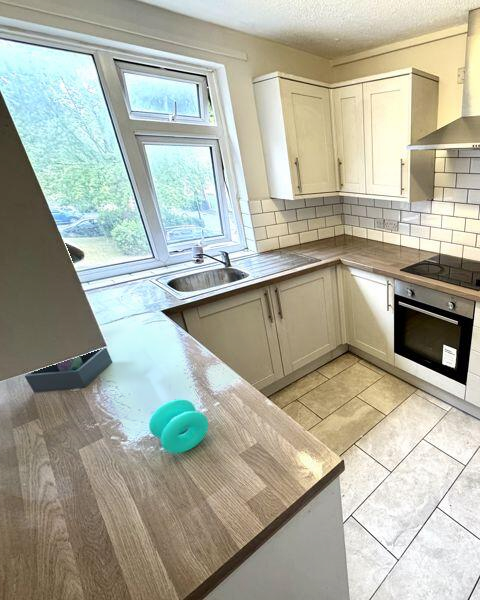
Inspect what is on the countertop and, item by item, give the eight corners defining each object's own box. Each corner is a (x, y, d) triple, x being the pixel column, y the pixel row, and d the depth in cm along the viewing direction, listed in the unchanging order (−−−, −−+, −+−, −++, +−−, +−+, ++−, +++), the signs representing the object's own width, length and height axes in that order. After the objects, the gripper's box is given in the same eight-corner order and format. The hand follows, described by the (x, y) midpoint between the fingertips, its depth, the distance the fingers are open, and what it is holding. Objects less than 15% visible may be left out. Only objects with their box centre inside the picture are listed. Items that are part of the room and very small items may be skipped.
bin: (33, 392, 98) (24, 376, 96) (67, 366, 110) (59, 350, 108) (85, 387, 100) (77, 371, 98) (112, 362, 112) (106, 347, 110)
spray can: (63, 381, 101) (34, 324, 93) (62, 373, 105) (34, 318, 97) (87, 373, 105) (61, 317, 97) (84, 366, 108) (59, 312, 100)
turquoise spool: (170, 464, 76) (158, 432, 72) (154, 443, 81) (141, 412, 77) (214, 437, 83) (205, 406, 79) (196, 419, 89) (187, 390, 84)
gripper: (10, 261, 99) (-17, 277, 86) (73, 254, 105) (56, 268, 92) (22, 284, 102) (-3, 303, 89) (82, 276, 108) (67, 293, 95)
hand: (27, 285), depth 91 cm, fingers open, 8 cm apart
